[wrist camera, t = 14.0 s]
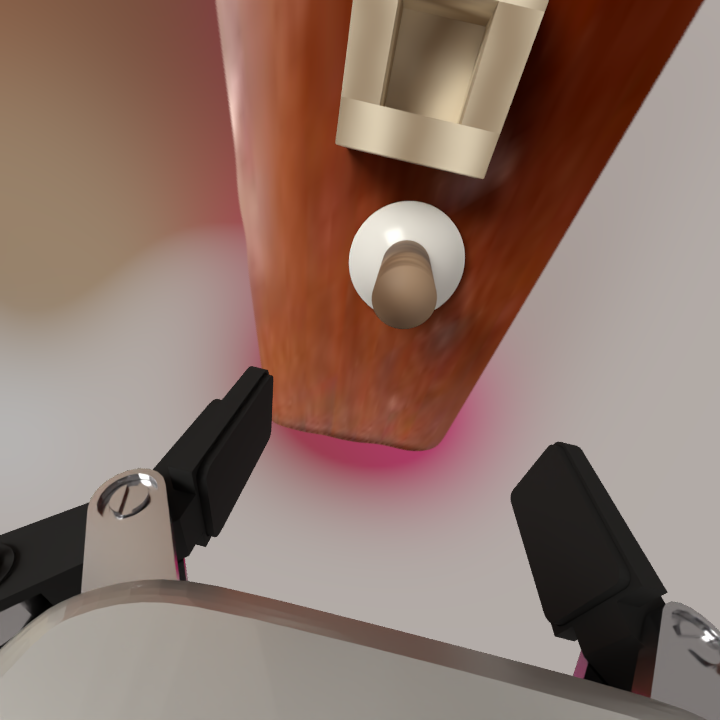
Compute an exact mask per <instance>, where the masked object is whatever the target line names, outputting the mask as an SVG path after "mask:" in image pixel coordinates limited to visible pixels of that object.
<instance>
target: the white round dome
mask: <svg viewBox="0 0 720 720" xmlns="http://www.w3.org/2000/svg"><path fill="white" fill-rule="evenodd" d="M403 240H411V241H415V242H417V243H419V244H420V245H422V246H423V247H424V248H425V249H426V251H427V253H428V255H429V258H430V263H431V268H432V273H433V278H434V282H435V287H436V292H437V302H436V306H435V309H437V308H438V307H440V306H441V305H442V304H444V303H445V302H446V301H447V300H448V299H449V298H450V296H451V295H452V294H453V293H454V291H455V289H456V288H457V286H458V284H459V282H460V280H461V277H462V274H463V270H464V264H465V251H464V245H463V241H462V238H461V235H460V233H459V231H458V229H457V227H456V226H455V224H454V223H453V222H452V221H451V219H450V218H449V217H448V216H447V215H446V214H445V213H444V212H442V211H441V210H439V209H438V208H436V207H434V206H432V205H430V204H427V203H424V202H420V201H409V200H406V201H398V202H395V203H391V204H389V205H386V206H384V207H382V208H381V209H379V210H377V211H376V212H375V213H373V214H372V215H371V216H370V217H369V218H368V219H367V220H366V221H365V222H364V223H363V224H362V226H361V227H360V229H359V230H358V232H357V234H356V235H355V237H354V240H353V242H352V245H351V249H350V255H349V270H350V276H351V279H352V282H353V285H354V287H355V289H356V291H357V292H358V294H359V295H360V297H361V298H362V299H363V300H364V301H365V302H366V303H367V304H368V305H369V306H370V307H371V308H373V306H372V292H373V288H374V285H375V282H376V279H377V276H378V272H379V269H380V266H381V263H382V260H383V256H384V254H385V252H386V251H387V250H388V248H389V247H390V246H392V245H393V244H395V243H397V242H399V241H403ZM435 309H434V310H435Z"/></svg>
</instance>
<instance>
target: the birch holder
mask: <svg viewBox="0 0 720 720" xmlns="http://www.w3.org/2000/svg"><path fill="white" fill-rule="evenodd" d="M548 1H549V0H353V6H352V14H351V22H350V30H349V38H348V46H347V54H346V62H345V70H344V78H343V86H342V94H341V102H340V110H339V118H338V126H337V134H336V143H335V144H337V145H340V146H343V147H346V148H350V149H354V150H358V151H362V152H367V153H371V154H375V155H379V156H384V157H388V158H392V159H396V160H400V161H405V162H409V163H413V164H417V165H421V166H426V167H430V168H434V169H438V170H442V171H447V172H451V173H455V174H459V175H463V176H468V177H472V178H479V179H484V177H485V174H486V171H487V168H488V166H489V163H490V160H491V157H492V155H493V152H494V149H495V146H496V144H497V141H498V138H499V135H500V133H501V130H502V127H503V124H504V122H505V119H506V116H507V114H508V111H509V108H510V105H511V103H512V100H513V97H514V94H515V92H516V89H517V86H518V83H519V81H520V78H521V75H522V72H523V70H524V67H525V64H526V61H527V59H528V56H529V53H530V51H531V48H532V45H533V42H534V40H535V37H536V34H537V31H538V29H539V26H540V23H541V20H542V18H543V15H544V12H545V9H546V7H547V4H548Z"/></svg>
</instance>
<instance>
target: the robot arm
mask: <svg viewBox="0 0 720 720" xmlns="http://www.w3.org/2000/svg"><path fill="white" fill-rule="evenodd" d="M272 399H273V376H271V375H269V372H268V370H265V369H261V368H257V367H253V366H251V367H249V368H248V369H247V370H246V371H245V372H244V374H243V375H242V376H241V377H240V379H239V380H238V381H237V382H236V384H235V385H234V386H233V387H232V388H231V390H230V391H229V392H228V393H227V395H226V396H225V397H224V398H223V399H222V400H220V399H215V400H213V401H212V402H211V403H210V404H209V405H208V406H207V407H206V408H205V410H204V411H203V412H202V413H201V414H200V415H199V416H198V418H197V419H196V420H195V421H194V422H193V424H192V425H191V426H190V427H189V428H188V429H187V430H186V432H185V433H184V434H183V435H182V436H181V437H180V439H179V440H178V441H177V442H176V443H175V444H174V446H173V447H172V448H171V449H170V450H169V451H168V453H167V454H166V455H165V456H164V457H163V458H162V460H161V461H160V462H159V463H158V464H157V465H156V467H155V468H154V469H153V470H151V469H141V468H138V469H133V470H128V471H125V472H123V473H120V474H117V475H115V476H114V477H113V478H111V479H109V480H108V481H106V482H105V483H104V484H102V485H101V486H100V487H99V488H98V489H97V490H96V492H95V493H94V494H93V496H92V497H91V499H90V502H89V503H87V504H84V505H81V506H78V507H76V508H73V509H70V510H67V511H65V512H62V513H60V514H57V515H54V516H51V517H48V518H46V519H43V520H40V521H38V522H35V523H32V524H29V525H27V526H24V527H21V528H19V529H16V530H13V531H10V532H8V533H5V534H2V535H0V720H720V632H719V631H718V629H717V628H715V626H714V625H713V624H711V623H710V622H709V621H708V620H707V619H706V618H704V617H703V616H702V615H701V614H699V613H698V612H696V611H695V610H693V609H692V608H690V607H688V606H686V605H684V604H682V603H678V602H669V603H667V604H665V602H664V601H663V599H662V597H661V596H662V595H664V594H666V593H667V591H666V589H665V587H664V586H663V584H662V582H661V581H660V579H659V577H658V576H657V574H656V572H655V571H654V569H653V567H652V566H651V564H650V562H649V561H648V559H647V557H646V556H645V554H644V552H643V551H642V549H641V548H640V546H639V544H638V542H637V541H636V539H635V537H634V536H633V535H632V533H631V531H630V529H629V528H628V526H627V524H626V523H625V521H624V519H623V518H622V516H621V515H620V513H619V511H618V510H617V508H616V506H615V504H614V503H613V501H612V499H611V498H610V496H609V494H608V493H607V491H606V489H605V488H604V486H603V484H602V483H601V481H600V479H599V478H598V476H597V474H596V473H595V471H594V470H593V468H592V466H591V465H590V463H589V461H588V460H587V458H586V456H585V455H584V453H583V451H582V450H581V449H580V448H579V447H578V446H575V445H570V444H567V443H563V442H556V443H555V444H554V445H550V446H548V448H547V449H546V450H545V451H544V452H543V454H542V455H541V456H540V457H539V459H538V460H537V461H536V462H535V463H534V465H533V466H532V467H531V468H530V470H529V471H528V472H527V473H526V475H525V476H524V477H523V478H522V480H521V481H520V482H519V483H518V484H517V486H516V487H515V488H514V489H513V491H512V493H511V504H512V506H513V510H514V514H515V517H516V520H517V524H518V527H519V530H520V534H521V537H522V541H523V544H524V547H525V550H526V554H527V557H528V561H529V564H530V568H531V571H532V574H533V577H534V581H535V584H536V588H537V591H538V594H539V598H540V601H541V605H542V608H543V611H544V614H545V617H546V618H547V620H548V621H549V622H550V623H551V625H552V628H553V632H554V635H555V636H556V637H559V638H564V639H567V640H571V641H576V640H577V639H578V642H579V645H580V647H581V652H580V655H579V659H578V661H577V665H576V668H575V671H574V674H573V676H570V675H567V674H562V673H559V672H555V671H551V670H548V669H544V668H540V667H536V666H532V665H529V664H525V663H521V662H517V661H513V660H510V659H506V658H502V657H498V656H494V655H491V654H487V653H482V652H479V651H475V650H471V649H467V648H464V647H460V646H456V645H452V644H448V643H444V642H440V641H436V640H433V639H429V638H425V637H421V636H417V635H413V634H409V633H405V632H402V631H398V630H394V629H390V628H385V627H382V626H378V625H374V624H370V623H366V622H362V621H358V620H355V619H350V618H346V617H342V616H338V615H334V614H331V613H327V612H323V611H319V610H314V609H311V608H307V607H303V606H299V605H295V604H291V603H287V602H283V601H279V600H275V599H270V598H266V597H262V596H258V595H253V594H249V593H244V592H240V591H236V590H232V589H227V588H223V587H219V586H213V585H207V584H201V583H195V582H189V581H188V578H187V570H186V564H185V557H187V556H189V555H190V553H191V551H192V550H193V548H194V546H195V544H196V545H200V546H204V547H206V546H207V544H208V542H209V540H210V538H211V536H213V537H217V536H218V535H219V533H220V532H221V530H222V528H223V526H224V524H225V522H226V521H227V519H228V517H229V515H230V513H231V511H232V509H233V507H234V505H235V503H236V501H237V500H238V497H239V496H240V494H241V492H242V490H243V488H244V486H245V484H246V482H247V481H248V479H249V477H250V475H251V473H252V471H253V469H254V467H255V465H256V463H257V462H258V460H259V458H260V456H261V454H262V452H263V450H264V448H265V446H266V444H267V442H268V440H269V438H270V435H271V423H272Z"/></svg>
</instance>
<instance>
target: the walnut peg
mask: <svg viewBox="0 0 720 720" xmlns="http://www.w3.org/2000/svg"><path fill="white" fill-rule="evenodd" d="M436 302H437V292H436V287H435V282H434V278H433V273H432V268H431V263H430V258H429V255H428V253H427V251H426V249H425V248H424V247H423V246H422V245H420V244H419V243H417V242H415V241H411V240H403V241H399V242H397V243H395V244H393V245H392V246H390V247H389V248H388V250H387V251H386V252H385V254H384V256H383V260H382V263H381V266H380V269H379V272H378V276H377V279H376V282H375V285H374V288H373V292H372V306H373V309H374V311H375V313H376V315H377V316H378V318H379V319H380V320H381V321H383V322H384V323H385V324H387V325H389V326H391V327H394V328H398V329H409V328H413V327H416V326H419V325H420V324H422V323H424V322H425V321H426V320H427V319H428V318H429V317H430V316H431V315H432V313H433V311H434V309H435V306H436Z"/></svg>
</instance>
